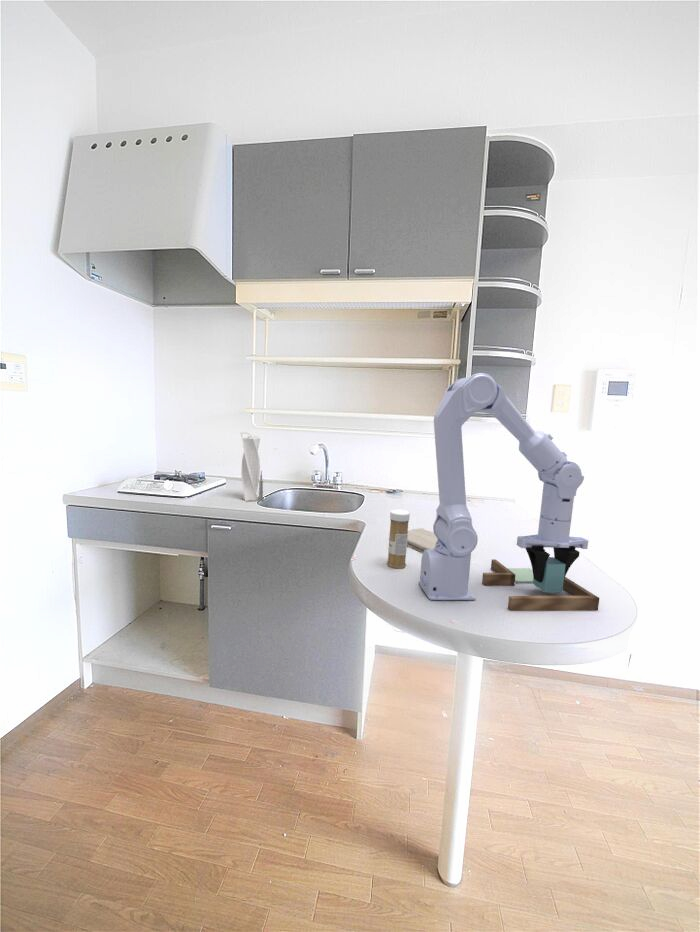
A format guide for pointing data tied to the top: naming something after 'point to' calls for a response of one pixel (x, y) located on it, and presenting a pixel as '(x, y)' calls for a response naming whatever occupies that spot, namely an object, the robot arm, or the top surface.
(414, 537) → the washcloth
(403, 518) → the sprinkles bottle
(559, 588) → the teal block
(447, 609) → the top surface
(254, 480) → the skyscraper
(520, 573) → the pad
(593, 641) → the top surface
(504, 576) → the channel
